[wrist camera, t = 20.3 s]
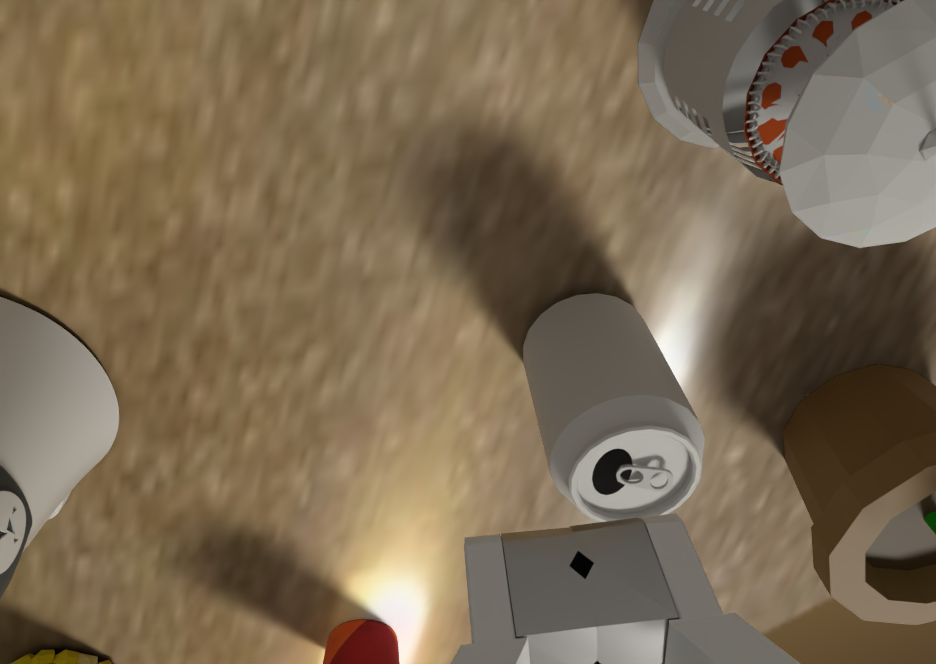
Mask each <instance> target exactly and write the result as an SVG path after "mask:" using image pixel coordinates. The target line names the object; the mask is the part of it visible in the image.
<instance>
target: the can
mask: <svg viewBox="0 0 936 664" xmlns="http://www.w3.org/2000/svg"><path fill="white" fill-rule="evenodd" d="M523 363H524V367H525V371H526V375H527V379H528V383H529V388H530V392H531V396H532V400H533V404H534V408H535V412H536V416H537V421H538V425H539V429H540V433H541V437H542V441H543V445H544V449H545V453H546V458H547V462H548V466H549V470H550V474H551V476H552V478H553V480H554V483H555V485H556V487H557V489H558V490H559V491H560V492H561V493H562V494H563V495H564V496H565V497H566V498H568V499H569V500H570V501H571V502H572V503H574V505H575V507H576V508H578V509H579V510H580V511H581V512H582V513H583V514H584V515H585V516H586V517H588V518H591V519H593V520H596V521H598V522H607V521H615V520H622V519H630V518H639V519H640V518H642V517H650V516H659V515H666V514H668V513H670V512H671V511H673V510H675V509H677V508H678V507H679V506H680V505H681V504H682V503H683V502H684V501H685V500H686V499H687V498H688V497H690V496H691V495H692V493H693V491H694V490H695V488H696V486H697V484H698V482H699V481H700V478H701V471H702V464H703V463H702V457H703V450H704V443H705V438H704V435H703V432H702V428H701V425H700V422H699V420H698V418H697V416H696V415H695V413H694V411H693V409H692V407H691V405H690V404H689V402H688V400H687V398H686V396H685V394H684V393H683V391H682V389H681V387H680V385H679V383H678V382H677V380H676V378H675V376H674V374H673V372H672V371H671V369H670V367H669V365H668V363H667V361H666V360H665V358H664V356H663V354H662V352H661V350H660V349H659V347H658V345H657V343H656V341H655V339H654V338H653V336H652V334H651V332H650V330H649V328H648V327H647V325H646V323H645V321H644V319H643V318H642V317H641V315H640V314H639V313H638V312H637V311H636V309H635V308H634V307H633V306H632V305H630V304H628V303H627V302H625V301H623V300H621V299H619V298H618V297H615V296H610V295H604V294H599V293H593V294H583V295H575V296H573V297H570V298H568V299H565V300H562V301H560V302H557V303H556V304H554V305H553V306H551V307H550V308H549V309H547V310H546V311H545V312H543V313H542V314H541V315H540V316H539V317H538V318H537V320H536V321H535V322H534V324H533V325H532V326H531V327H530V329H529V330H528V333H527V336H526V339H525V342H524V345H523Z"/></svg>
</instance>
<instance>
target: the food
mask: <svg viewBox="0 0 936 664" xmlns="http://www.w3.org/2000/svg"><path fill="white" fill-rule="evenodd" d="M8 664H112V663H111V662H110V660H106V661H103V662H100V663H98V657H97V656H92V655H87V654H82V653H79V652H75V651H70V650H64V651H62V652H60V653H59V654H57V655H55V651H54V649H53V650H41V651H40V652H39V653H37V654H36V655H33V654H30V653H29V654H27V655H25V656H23V657H21V658H20V659H18V660H16V661H14V662H12V663H8Z"/></svg>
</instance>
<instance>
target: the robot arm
mask: <svg viewBox="0 0 936 664" xmlns="http://www.w3.org/2000/svg"><path fill="white" fill-rule="evenodd" d="M118 424H119V409H118V403H117V398H116V395H115V392H114V389H113V386H112V384H111V382H110V380H109V378H108V376H107V374H106V373H105V371H104V370H103V368H102V367H101V365H100V364H99V362H98V361H97V360H96V358H95V357H94V356H93V355H92V354H91V353H90V351H89V350H88V349H87V348H86V347H85V346H84V345H83V344H82V343H81V342H79V341H78V340H77V339H76V338H75V337H74V336H73V335H71V334H70V333H69V332H68V331H66V330H65V329H64V328H62V327H61V326H59V325H58V324H56V323H55V322H53V321H52V320H50V319H48V318H47V317H45V316H43V315H41V314H40V313H38V312H36V311H34V310H32V309H30V308H28V307H25V306H23V305H21V304H18V303H16V302H13V301H10V300H8V299H5V298H3V297H0V598H1V597H2V595H3V593H4V591H5V590H6V588H7V586H8V585H9V583H10V581H11V579H12V576H13V574H14V571H15V569H16V566H17V564H18V562H19V559H20V557H21V555H22V553H23V551H24V550H25V549H26V547H27V546H28V545H29V544H30V542H31V541H32V540H33V538H34V537H35V536H36V534H37V533H38V532H39V530H40V529H41V528H42V526H43V525H44V524H45V522H46V521H47V520H48V519H51V518H53V517H54V516H56V515H57V514H58V512H59V511H60V510H61V508H62V507H63V506H64V504H65V503H66V501H67V499H68V497H69V495H70V493H71V490H72V489H73V488H74V487H75V486H76V485H77V483H78V482H79V481H80V480H81V479H82V478H83V477H84V476H85V475H86V474H87V473H88V472H89V471H90V470H91V469H92V468H93V467H94V466H95V465H96V464H97V463H99V462H100V461H101V460H102V458H103V457H104V456H105V455H106V454H107V452H108V451H109V449H110V448H111V446H112V444H113V442H114V440H115V437H116V434H117V430H118ZM464 551H465V564H466V576H467V588H468V600H469V612H470V624H471V637H472V644H467V645H461V647H460V648H459V650H458V652H457V654H456V655H455V657H454V659H453V661H452V663H451V664H800V663H799V662H798V661H796V660H795V659H794V658H792V657H791V656H790V655H789V654H787V653H786V652H785V651H783V650H782V649H781V648H779V647H778V646H777V645H775V644H774V643H773V642H772V641H770V640H769V639H768V638H766V637H765V636H764V635H763V634H761V633H760V632H759V631H757V630H756V629H755V628H753V627H752V626H751V625H750V624H748V623H747V622H746V621H744V620H743V619H742V618H741V617H739V616H738V615H737V614H735V613H727V614H723V612H722V610H721V607H720V605H719V603H718V601H717V598H716V596H715V594H714V591H713V589H712V587H711V585H710V582H709V580H708V578H707V576H706V573H705V571H704V569H703V566H702V564H701V562H700V560H699V557H698V555H697V553H696V550H695V548H694V546H693V544H692V541H691V539H690V537H689V534H688V532H687V530H686V528H685V525H684V523H683V521H682V519H681V518H680V517H679V516H678V515H677V514H676V513H675V514H667V515H659V516H650V517H642V518H640V519H639V518H630V519H622V520H615V521H607V522H599V523H591V524H584V525H576V526H570V527H569V528H558V529H547V530H536V531H525V532H514V533H503V534H501V536H500V534H497V535H487V536H477V537H467V538H465V544H464Z"/></svg>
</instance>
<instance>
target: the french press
mask: <svg viewBox="0 0 936 664" xmlns="http://www.w3.org/2000/svg"><path fill="white" fill-rule="evenodd" d="M638 84H639V86H640V89H641V91H642V93H643V95H644V98H645V100H646V102H647V105H648V107H649V109H650V112H651V114H652V116H653V118H654V119H655V120H657V121H658V122H659V123H660V124H661V125H662V126H664V127H665V128H666V129H667V130H668V131H670V132H671V133H672V134H673V135H674V136H675V137H677V138H678V139H679V140H682V141H686V142H690V143H694V144H698V145H702V146H706V147H710V148H717V147H721V148H723V149H724V150H725V151H726V152H727V153H728V154H729V155H731V156H732V157H733V158H735V159H736V158H737V159H739V160H742V161H744V162H747V163H749V164H752V165H754V166H757V167H759V168H761V169H762V170H760V169H758V168H755V167H753V166H750V165H748V164H745V163H742V162H740V161H739V160H737V159H736V160H737V161H738V162H739V163H740V164H742V165H743V166H744V167H746V168H747V169H748V170H749V171H751V172H752V173H753V174H754V175H756V176H757V177H760V178H763V179H766V180H770V181H773V182H776V183H778V184H780V185H783V186H784V189H785V192H786V195H787V198H788V201H789V204H790V207H791V211H792V213H793V214H794V215H796V216H797V217H798V218H799V219H800V220H801V221H802V222H803V223H804V224H805V225H807V226H808V227H809V228H810V229H811V230H812V231H813V232H814V233H815V234H816V235H818V236H819V237H820V238H822V239H826V240H830V241H834V242H838V243H842V244H846V245H850V246H854V247H858V248H863V247H870V246H877V245H884V244H891V243H898V242H905V241H907V240H909V239H911V238H914V237H916V236H918V235H920V234H922V233H924V232H926V231H928V230H930V229H932V228H935V227H936V0H653V3H652V6H651V9H650V11H649V14H648V17H647V20H646V22H645V25H644V28H643V31H642V34H641V36H640V39H639V42H638ZM747 143H748V145H749V147H742V148H739V147H736V146H733V145H736V144H747ZM731 147H732V148H734V149H737V150H739V151H742V152H744V153H746V152H751V153H752V155H753V156H748V155H745V154H742V153H739V152H737V151H734V150H732V149H731ZM733 153H736V154H738V155H741V156H743V157H746V158H748V159H751V160H753V161H755V163H753V162H750V161H748V160H745V159H742V158H740V157H738V156H736V155H734V154H733Z"/></svg>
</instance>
